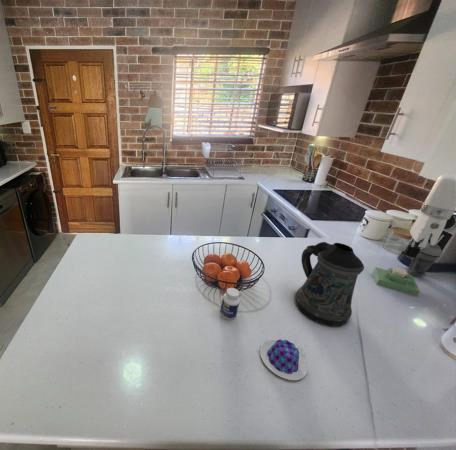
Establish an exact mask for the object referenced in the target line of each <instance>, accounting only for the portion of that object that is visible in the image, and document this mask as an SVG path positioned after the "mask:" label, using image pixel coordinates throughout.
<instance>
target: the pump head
mask: <svg viewBox="0 0 456 450" xmlns="http://www.w3.org/2000/svg"><path fill="white" fill-rule="evenodd" d="M392 269H393V271H392V274H394V275H395V276H398V277H401V278H405V277H406V275H408V273H407V271H406V270H405V269H403V268H399V267H394V268H392Z"/></svg>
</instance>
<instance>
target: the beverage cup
mask: <svg viewBox="0 0 456 450" xmlns="http://www.w3.org/2000/svg"><path fill="white" fill-rule="evenodd" d="M444 237H445V235H444V234H442V235H440V236H439V238H438V240H437V242H436V243H435V245H433V246H432V245H430V244H429V243H428V242H427V244H426V246H425V248H422V249H421V250H420V252H419V253H418V255H417V256H416V258H414V257H412V259H411V261H410V264H409V266H408V268H407V271H406V272H407V275H409V276H411V277H413V278H417V277H418V278H419V279H420V278H422V277H423V275H425V273H426V272H428V270H429V269H430V267H432V266H433V264H434V263H435V262H436V261H437V260H438V259H439V258H440V257H441V255H442V248H441V247H440V246H439V242H440V241H441V240H442V239H443V238H444ZM418 278H417V279H418Z"/></svg>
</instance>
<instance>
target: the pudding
mask: <svg viewBox="0 0 456 450" xmlns="http://www.w3.org/2000/svg"><path fill="white" fill-rule="evenodd" d="M259 355H260V357H261V360H262V362H263V364H264V365H265V366H266V367H267V368H268V369H269V370H270V371H271V372H272V373H273V374H275V375H276V376H278V377H280V378H282V379H285V380H289V381H299V380H302V379H303V378H305V377H306V375H307V373H308V364H307V362H306V360H305V358H304V356H303V355H302V353H301V352H300V351H299V349H298V347H296V345H295V344H294V343H293V342H290V341H289V340H287V339H269V340H266V341H264V342H262V344H261V345H260V349H259Z"/></svg>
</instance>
